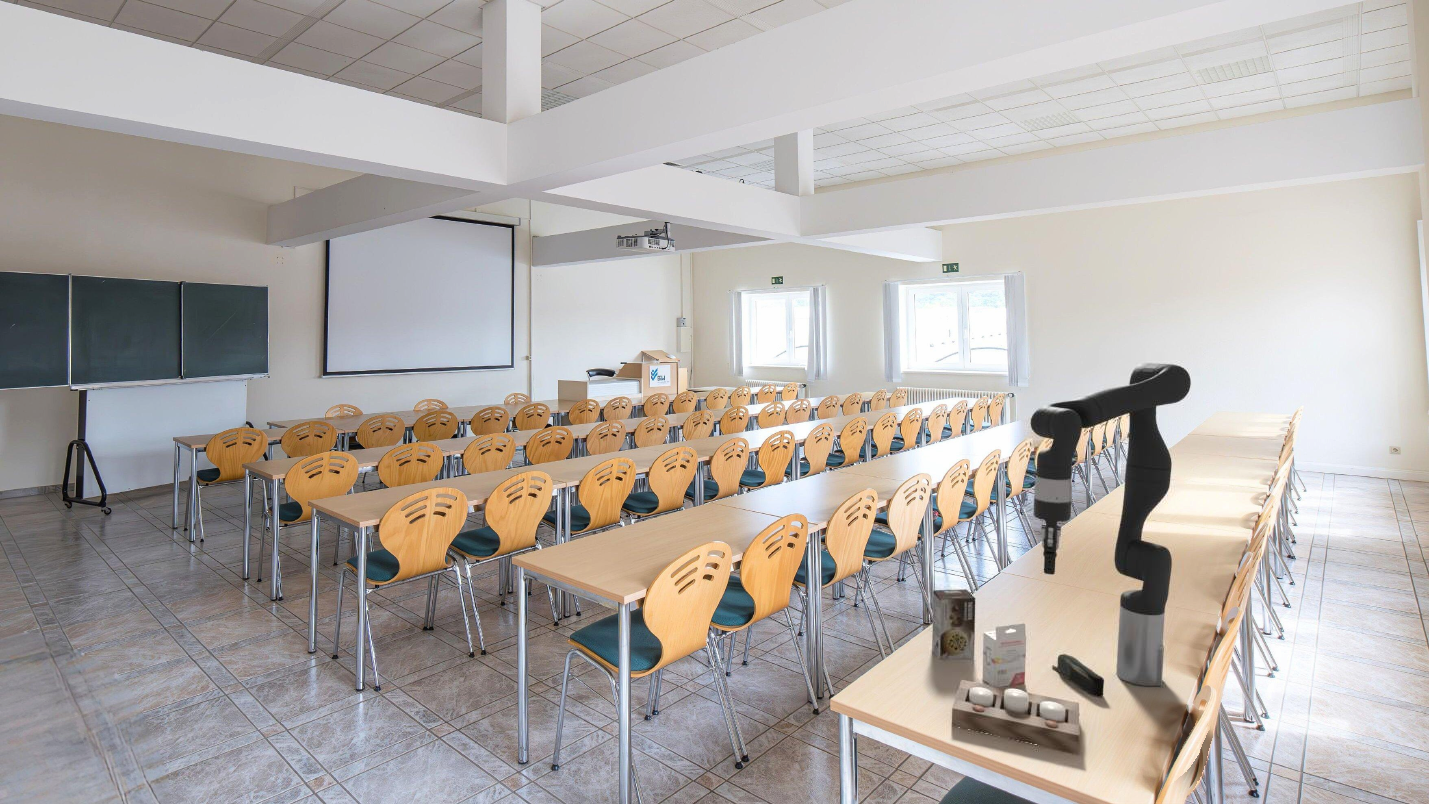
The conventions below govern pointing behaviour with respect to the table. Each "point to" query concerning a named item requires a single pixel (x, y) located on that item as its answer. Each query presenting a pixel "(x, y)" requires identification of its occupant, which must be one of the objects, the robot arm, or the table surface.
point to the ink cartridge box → (1004, 655)
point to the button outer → (981, 696)
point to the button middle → (1016, 701)
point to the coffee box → (953, 624)
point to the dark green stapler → (1080, 675)
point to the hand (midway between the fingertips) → (1049, 573)
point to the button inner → (1052, 711)
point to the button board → (1017, 719)
